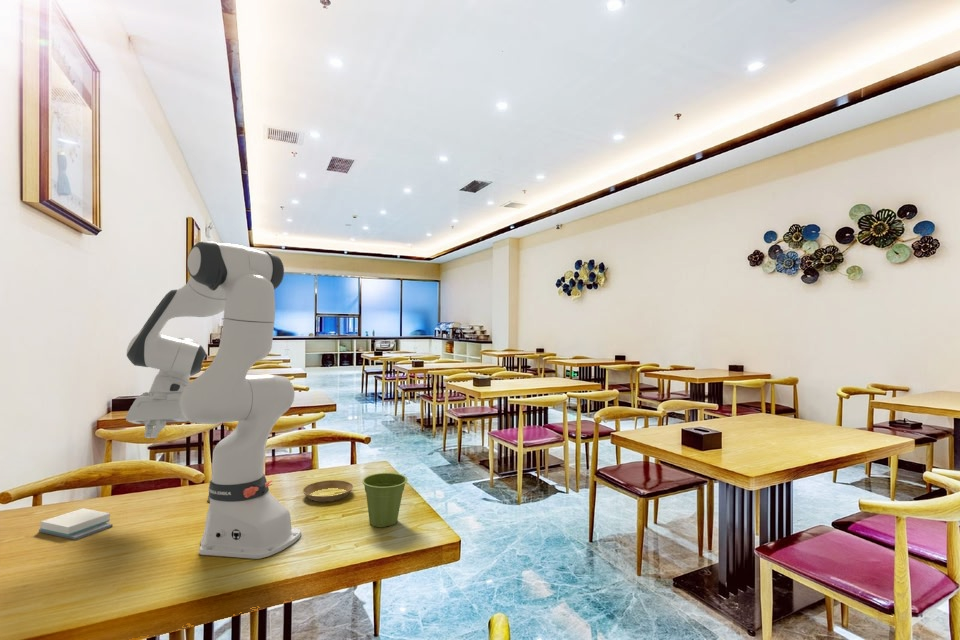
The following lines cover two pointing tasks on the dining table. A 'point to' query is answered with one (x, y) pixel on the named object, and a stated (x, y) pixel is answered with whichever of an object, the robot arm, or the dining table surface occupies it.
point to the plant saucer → (326, 485)
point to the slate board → (82, 532)
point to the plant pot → (384, 497)
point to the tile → (74, 521)
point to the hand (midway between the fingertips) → (150, 437)
